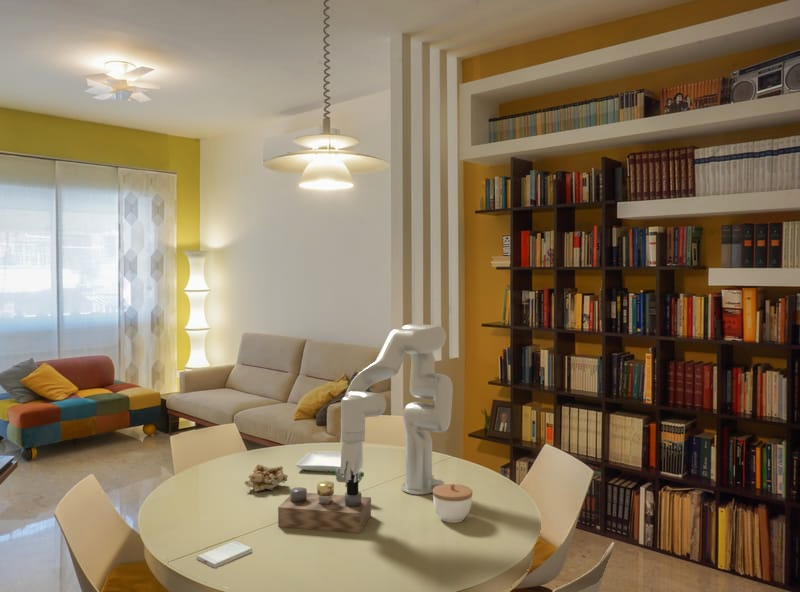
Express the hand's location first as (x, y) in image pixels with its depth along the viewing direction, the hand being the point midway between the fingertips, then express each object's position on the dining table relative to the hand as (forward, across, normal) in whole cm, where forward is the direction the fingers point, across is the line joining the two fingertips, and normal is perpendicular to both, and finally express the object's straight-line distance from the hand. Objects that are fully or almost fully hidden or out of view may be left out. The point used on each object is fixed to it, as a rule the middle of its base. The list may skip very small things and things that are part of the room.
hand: (352, 494), depth 197 cm
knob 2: (+8, 0, 0) cm, 8 cm away
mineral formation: (+10, -26, -39) cm, 48 cm away
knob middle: (+5, 0, -9) cm, 10 cm away
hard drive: (+10, +28, -29) cm, 42 cm away
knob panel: (+9, 0, -9) cm, 13 cm away
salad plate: (+10, -56, -26) cm, 63 cm away
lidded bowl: (+9, -10, +30) cm, 33 cm away
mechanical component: (+9, -20, -7) cm, 23 cm away
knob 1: (+8, 0, -18) cm, 20 cm away
